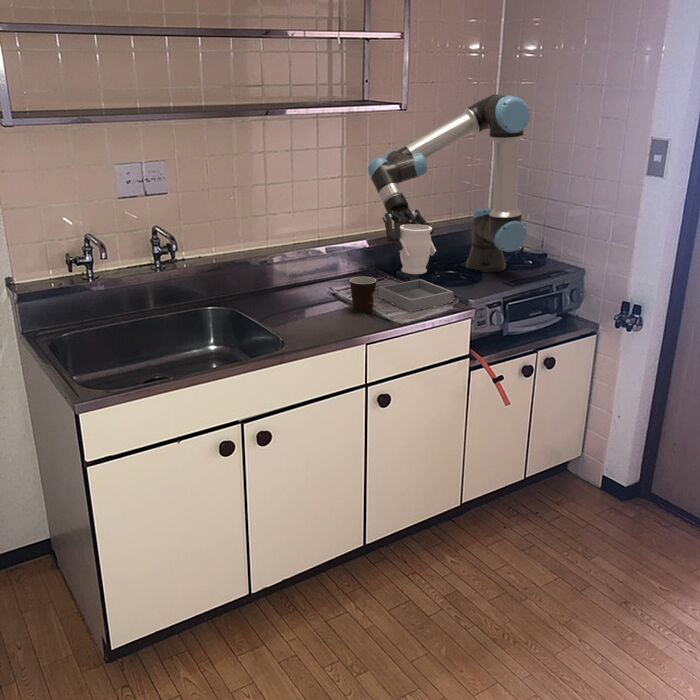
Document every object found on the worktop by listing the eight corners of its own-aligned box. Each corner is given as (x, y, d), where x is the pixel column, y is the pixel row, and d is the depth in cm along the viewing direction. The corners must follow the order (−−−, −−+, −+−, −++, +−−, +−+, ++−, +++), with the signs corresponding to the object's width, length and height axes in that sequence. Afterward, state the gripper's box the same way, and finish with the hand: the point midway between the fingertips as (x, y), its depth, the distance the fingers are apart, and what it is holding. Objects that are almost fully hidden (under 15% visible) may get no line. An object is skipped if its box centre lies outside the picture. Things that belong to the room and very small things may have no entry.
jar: (434, 269, 259) (436, 225, 253) (424, 277, 250) (426, 231, 245) (404, 265, 263) (406, 222, 257) (393, 273, 254) (395, 228, 249)
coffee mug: (365, 315, 246) (366, 285, 242) (344, 310, 250) (344, 280, 247) (386, 306, 254) (387, 277, 251) (365, 301, 259) (365, 273, 255)
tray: (420, 289, 272) (420, 279, 270) (452, 303, 258) (453, 291, 256) (378, 298, 263) (378, 286, 261) (410, 312, 249) (410, 300, 247)
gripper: (415, 203, 267) (442, 257, 261) (361, 210, 256) (387, 266, 249) (425, 190, 261) (453, 245, 255) (370, 196, 250) (397, 253, 243)
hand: (420, 255), depth 252 cm, fingers closed on jar, 10 cm apart
